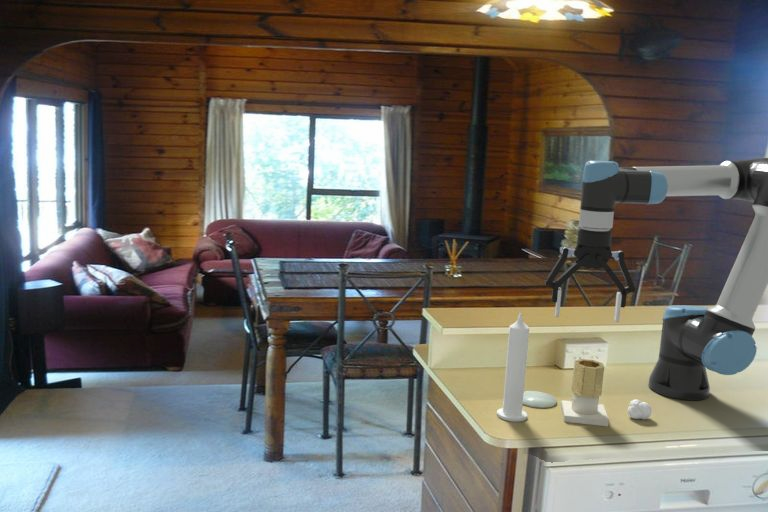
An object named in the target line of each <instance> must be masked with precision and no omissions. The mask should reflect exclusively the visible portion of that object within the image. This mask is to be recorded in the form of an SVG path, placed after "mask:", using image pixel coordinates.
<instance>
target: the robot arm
mask: <svg viewBox="0 0 768 512" xmlns="http://www.w3.org/2000/svg"><path fill="white" fill-rule="evenodd" d="M581 182H582V183H581V184H582V185H581V196H580V198H581V199H580V206H579V208H580V210H579V220H578V226H579V227H580V228H578V229H577V239H576V246H575V247H574V248H568V247H567V246H563V247H562V249H561V254H560V256H559V258H558V259H557V261H556V262H555V265H554V266H553V268H552V269H551V271H550V272H549V273H548V275H547V277H546V279H544V282H545V283H544V284H545V286H547V287H550V288H551V289H552V290H551V301H552V303H555V310H554V316H555V317H556V318H560V314H561V313H560V312H561V301H562V287H561V286H562V285H564V283H565V282H566V281H568V279H570V278H571V277H572V275H574V274H575V273H576V272H577V271H579V269H581V268H584V269H587V270H588V269H589V270H590V269H593V270H601V269H602V268H603V270H604V272H606V273H607V275H608V276H609V277H610V279H611V280H612V282H613V283H614V284H615V285H616V287H617V288H618V290H619V291H617V292H616V297H615V305H614V306H615V307H614V317H613V319H614V321H615V323H619V322H620V318H621V317H620V316H621V308H622V309H623V308H625V307H626V305H627V296H628V294H630V293H635V292H636V287H635V285H634V282H633V279H632V277H631V275H630V274H631V273H630V271H629V269H628V267H627V264H626V262H625V253H624V251H623V250H621V249H619V250H618V251H612V250H611V248H612V247H611V245H612V235H613V232H612V231H611V229H612V228H614V227H613V226H614V214H615V206H616V204H634V205H637V204H638V205H647V206H649V205H655V204H656V205H658V204H661V203H662V202H663V201H664V200H665V199H666V198H667V197H693V196H695V197H696V196H697V197H699V196H701V197H703V196H705V197H706V196H718V197H720V199H723V200H740V201H745V202H749V203H750V202H751V203H752V209H753V210H754V213H755V215H754V218H753V220H752V223H751V225H750V226H749V228H748V232H747V233H746V236H745V238H744V241H743V244H742V245H741V248H740V250H739V253H738V255H737V257H736V258H735V261H734V263H733V266H732V268H731V270H730V273H729V274H728V277H727V280H726V282H725V284H724V286H723V288H722V291H721V293H720V296H719V298H718V300H717V301H716V304H714V306H711V307H705V306H700V305H699V306H697V305H687V304H686V305H685V304H683V305H682V304H681V305H679V304H675V305H674V304H673V305H669V306H667V307H666V308H665V309H664V312H663V317H662V325H661V326H662V327H661V336H660V342H659V343H660V344H659V345H660V346H659V352H658V353H659V354H658V359H657V361H656V363H655V365H654V367H653V369H652V371H651V373H650V375H649V377H648V385H647V386H648V388H649V389H650V390H652V391H653V392H655V393H657V394H659V395H662V396H665V397H668V398H674V399H678V400H686V401H699V400H700V401H701V400H705V399H707V398H708V397H709V396H710V389H711V387H710V382H709V377H708V373H707V370H709V371H711V372H715V373H717V374H719V375H724V376H734V375H737V374H738V373H741V372H743V371H745V370H746V369H747V368H749V366H750V365H752V363H753V361H754V360H755V357H756V356H757V349H758V347H757V345H756V341H755V340H756V339H754V336H753V335H754V333H755V331H756V328H757V327H756V326H755V323H754V322H753V321H754V320H753V319H754V316H755V313H756V311H757V309H758V306H759V304H760V302H761V299H762V297H763V296H764V294H765V291H766V289H767V287H768V157H759V158H749V159H742V160H725V161H723V162H721V163H720V164H719V165H712V164H711V165H671V166H670V165H669V166H667V165H664V166H663V165H662V166H661V165H660V166H656V165H655V166H631V167H630V166H619V163H618V162H616V161H610V160H588V161H586V162H585V164H584V168H583V174H582V179H581ZM572 255H574V257H575V258H576V260H575V261H574V262H573V263H572V264H571V265H570V266H569V267H568V268H567V269H566V270H565V271H564V272H563V273H562V274H561V275H559V276H558V274H559V272H560V271H561V269H562V268H563V266H564V264H565V263H566V261H567V259H568V258H571V256H572ZM611 258H614V260H615V261H616V262H617V263H618V266H619V268H620V270H621V273H622V276H623V278H624V281H625V282H626V285H627V286H624V284H623V283H622V282H621V281H620V279H619V277H618V276H617V275H616V273H615V272H614V271H613V270H612V268H611V267H610V266H609V264H608V262H609V261H610V260H611ZM557 276H558V278H557ZM556 278H557V279H556ZM555 279H556V280H555Z"/></svg>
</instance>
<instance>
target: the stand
mask: <svg viewBox="0 0 768 512" xmlns="http://www.w3.org/2000/svg"><path fill="white" fill-rule="evenodd" d="M599 401H600V396H598V397H584V396H580V395H577V394H575V393H573V392H572V400H564V399H563V400H562V399H561V403H560V407H561V413H562V419H563V422H564V423H573V424H582V425H592V426H593V425H594V426H601V427H609V423H610V422H609V421H610V420H609V416H608V414H607V411H606V407H605V404H603V403H602V404H601V403H599Z"/></svg>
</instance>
